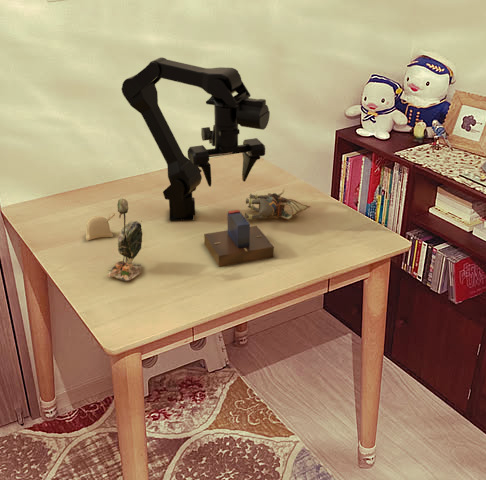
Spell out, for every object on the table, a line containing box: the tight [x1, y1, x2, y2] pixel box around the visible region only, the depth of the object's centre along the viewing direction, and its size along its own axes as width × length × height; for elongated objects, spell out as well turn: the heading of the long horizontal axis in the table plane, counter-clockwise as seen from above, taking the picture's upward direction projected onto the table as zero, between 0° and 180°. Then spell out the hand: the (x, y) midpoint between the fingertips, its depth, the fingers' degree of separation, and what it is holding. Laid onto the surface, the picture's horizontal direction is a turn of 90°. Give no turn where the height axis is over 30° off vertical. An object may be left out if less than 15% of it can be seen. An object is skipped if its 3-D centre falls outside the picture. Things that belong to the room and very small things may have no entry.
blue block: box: [226, 209, 251, 248], centre depth 174 cm, size 8×3×6 cm, turn 17°
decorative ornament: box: [85, 213, 116, 241], centre depth 185 cm, size 4×8×5 cm, turn 106°
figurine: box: [244, 188, 311, 221], centre depth 192 cm, size 20×6×17 cm
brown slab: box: [203, 225, 275, 267], centre depth 177 cm, size 14×12×3 cm
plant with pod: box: [106, 198, 143, 282], centre depth 165 cm, size 8×11×20 cm
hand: (226, 183), depth 183 cm, fingers open, 9 cm apart
